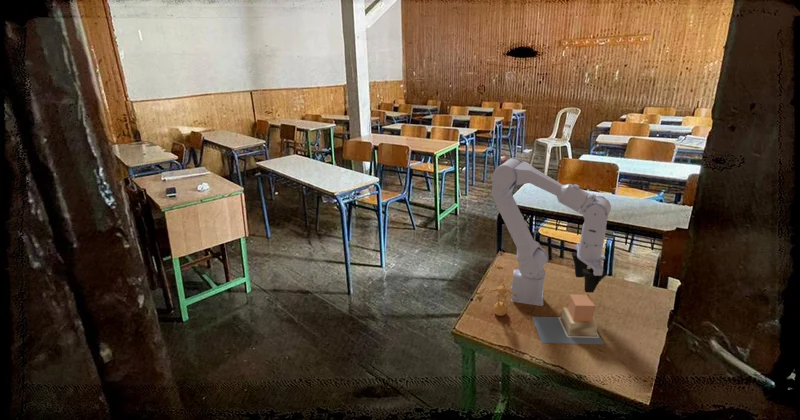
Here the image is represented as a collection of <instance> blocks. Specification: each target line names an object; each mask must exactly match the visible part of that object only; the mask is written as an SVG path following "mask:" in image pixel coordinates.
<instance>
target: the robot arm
mask: <svg viewBox="0 0 800 420" xmlns="http://www.w3.org/2000/svg"><path fill="white" fill-rule="evenodd" d="M490 179H491V181H492V182H491V197H492V199H493V201H494V203H495V205H496V207H497V210H498V212H499V214H500V216H501V218H502V219H503V222H504V224H505V225H506V226H505V227H506V228H507V231H508V232H509V235H510V236H511V239H512V240H513V242H514V245H515V248H516V260H517V262H518V269H513V274H512V281H511V285H510V289H509V290H510V291H512V292H513V293H514V294H515V295H516V296H517V298H516V297H515V296H514V295H513V294H511V293H510V302H514V303H520V304H527V305H531V306H538V307H543V306H544V285H545V278H546V271H545V268H544V267H545V265H547V263H548V261H549V254H548V252H547V251H546V250H545V249H544V248H543V247H542V246H541V244H540V242H538V241H536V240H535V239H534V238H533V235H532V234H531V232H530V230H529V227H528V225H527V223H526V221H525V219H524V217H523V214H522V212H521V211H520V208H519V206H518V204H517V202H516V200H515V197H514V196H513V194H512V192H513V190H514V188H515V186H519V185H524V184H530V185H533V186H535V187H537V188H539V189H541V190H543V191H546V192H547V193H550V194H552V195H554V196H556V199H557V201H558V203H560V204H562V205H563V206H565V207H566V208H569V209H571V210H573V211H575V212H576V213H578V214H580V215H582V217H583V219H584V222H583V224H582V228H581V235H580V239H579V243H576V246H575V250H576V251H573V252H571V257H572V259H573V265H574V273H575V277H576V278H584V285H583V286H584V292H585V293H590V294H591V293H594V292H595V290H596V288H597V287H598V285H599V283H600V282H601V281H602V280H603V279H604V278H605V277H606V275H607V273H606V271H605V270H604V268H603V265H602V263H603V262H602V260H606V256H605V254H603V246H604V243H605V238H606V237H605V236H606V232H607V224H608V218H609V216H610V215H609V214H610V213H611V209H612V205H611V202H610V201H609V200H608V198H606V197H605V196H603V195H596V194H594V193H592V194H591V193H590V192H588V191H585V190H583V189H582V188H580V185H578V184H577V183H575V184H572V183H567V184H562V183H561V182H559V181H558V180H556V179H554V178H552V177H550V176H549V175H547V174H545V173H544V172H542V171H540V170H539V169H537V168H535V167H533V165H531V164H530V163H529V162H528V161H524V160H522V159H520V158H518V157H511V158H508V159H507V160H506V161H505V162H503V163H502V164H501V165H498V166H496V168H495V169H494V171H493V173H492V174H491V176H490ZM588 267H589V268H588Z"/></svg>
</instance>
